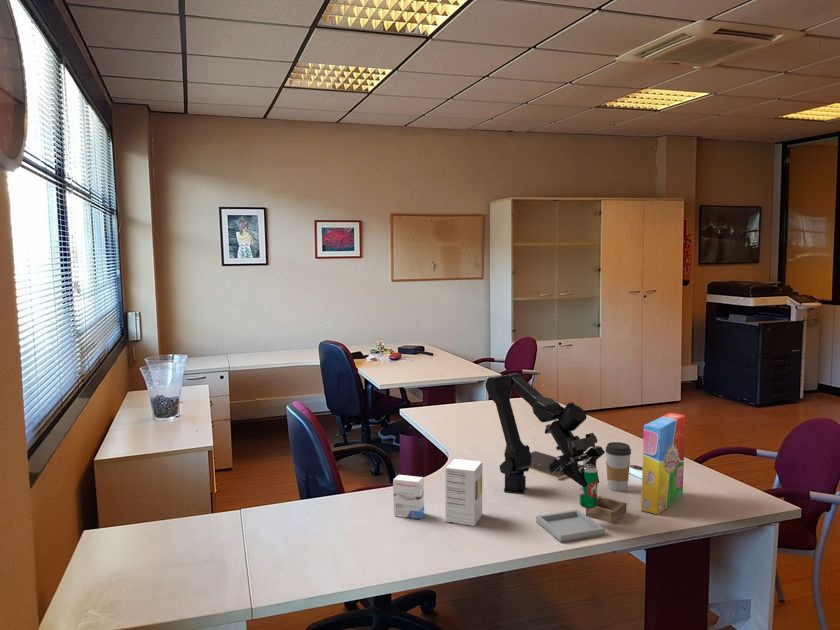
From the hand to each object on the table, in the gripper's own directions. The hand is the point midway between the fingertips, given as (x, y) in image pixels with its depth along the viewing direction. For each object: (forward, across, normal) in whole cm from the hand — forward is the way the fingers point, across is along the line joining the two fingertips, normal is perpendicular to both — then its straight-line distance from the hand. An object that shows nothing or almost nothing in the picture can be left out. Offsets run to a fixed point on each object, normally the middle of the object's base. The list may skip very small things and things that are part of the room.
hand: (591, 485), depth 184 cm
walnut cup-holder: (+7, +9, +10) cm, 16 cm away
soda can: (+4, 0, +6) cm, 7 cm away
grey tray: (+7, -7, +10) cm, 14 cm away
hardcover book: (-21, +25, +40) cm, 52 cm away
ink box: (-17, -40, +35) cm, 56 cm away
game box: (+10, +31, +8) cm, 34 cm away
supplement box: (-9, -28, +27) cm, 39 cm away
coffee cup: (-1, +30, +19) cm, 35 cm away
